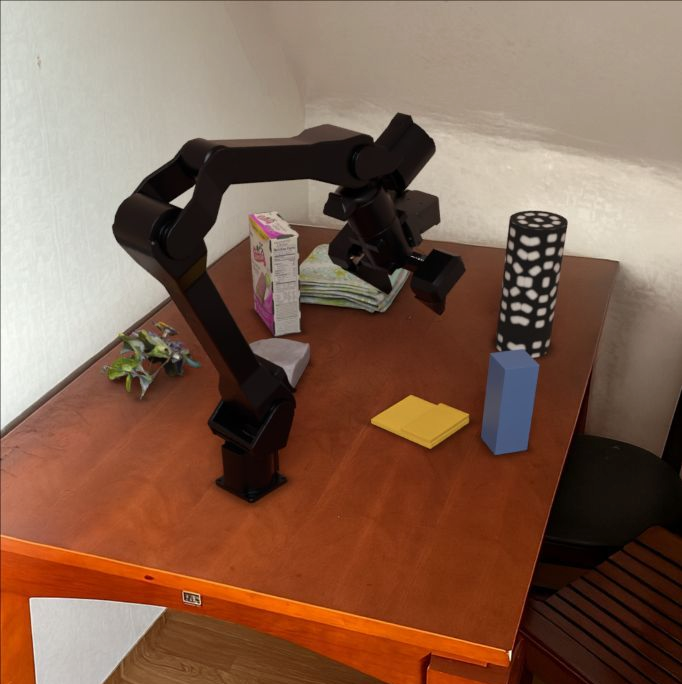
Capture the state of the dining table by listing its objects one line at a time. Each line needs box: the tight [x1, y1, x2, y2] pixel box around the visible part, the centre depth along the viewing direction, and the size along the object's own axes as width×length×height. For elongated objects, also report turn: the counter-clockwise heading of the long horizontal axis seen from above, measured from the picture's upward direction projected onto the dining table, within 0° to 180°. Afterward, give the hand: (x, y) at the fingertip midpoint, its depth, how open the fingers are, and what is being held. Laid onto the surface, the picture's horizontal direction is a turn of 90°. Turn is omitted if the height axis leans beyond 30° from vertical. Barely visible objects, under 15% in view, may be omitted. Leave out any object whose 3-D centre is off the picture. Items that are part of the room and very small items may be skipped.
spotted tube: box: [494, 210, 569, 359], centre depth 142 cm, size 8×8×20 cm
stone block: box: [249, 337, 311, 389], centre depth 138 cm, size 12×5×10 cm
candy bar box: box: [248, 210, 302, 337], centre depth 149 cm, size 11×5×16 cm, turn 22°
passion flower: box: [100, 320, 202, 401], centre depth 134 cm, size 11×11×12 cm
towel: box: [300, 243, 411, 313], centre depth 164 cm, size 18×21×5 cm
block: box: [480, 349, 540, 456], centre depth 121 cm, size 5×5×12 cm
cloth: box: [370, 394, 470, 450], centre depth 128 cm, size 9×10×1 cm
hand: (415, 302), depth 124 cm, fingers open, 9 cm apart
